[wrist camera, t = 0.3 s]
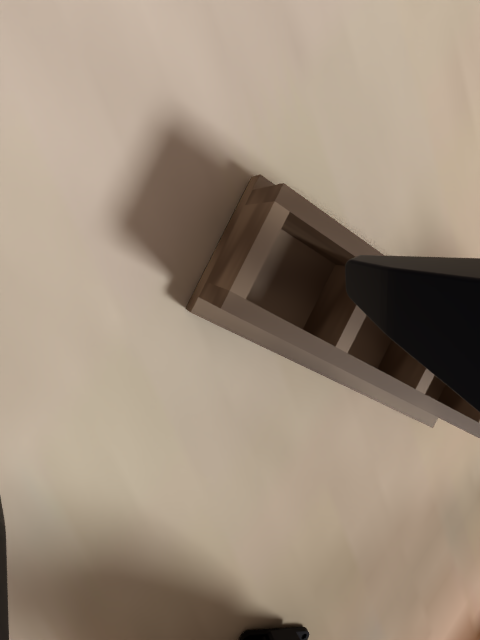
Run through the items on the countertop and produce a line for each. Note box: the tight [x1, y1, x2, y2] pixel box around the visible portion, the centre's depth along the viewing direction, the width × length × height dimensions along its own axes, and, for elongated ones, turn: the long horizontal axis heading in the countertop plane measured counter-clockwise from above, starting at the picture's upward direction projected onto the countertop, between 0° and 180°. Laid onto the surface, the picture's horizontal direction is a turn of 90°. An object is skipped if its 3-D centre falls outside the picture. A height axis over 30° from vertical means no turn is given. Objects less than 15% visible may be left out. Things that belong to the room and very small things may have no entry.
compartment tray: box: [186, 175, 480, 438], centre depth 28 cm, size 9×24×5 cm, turn 60°
